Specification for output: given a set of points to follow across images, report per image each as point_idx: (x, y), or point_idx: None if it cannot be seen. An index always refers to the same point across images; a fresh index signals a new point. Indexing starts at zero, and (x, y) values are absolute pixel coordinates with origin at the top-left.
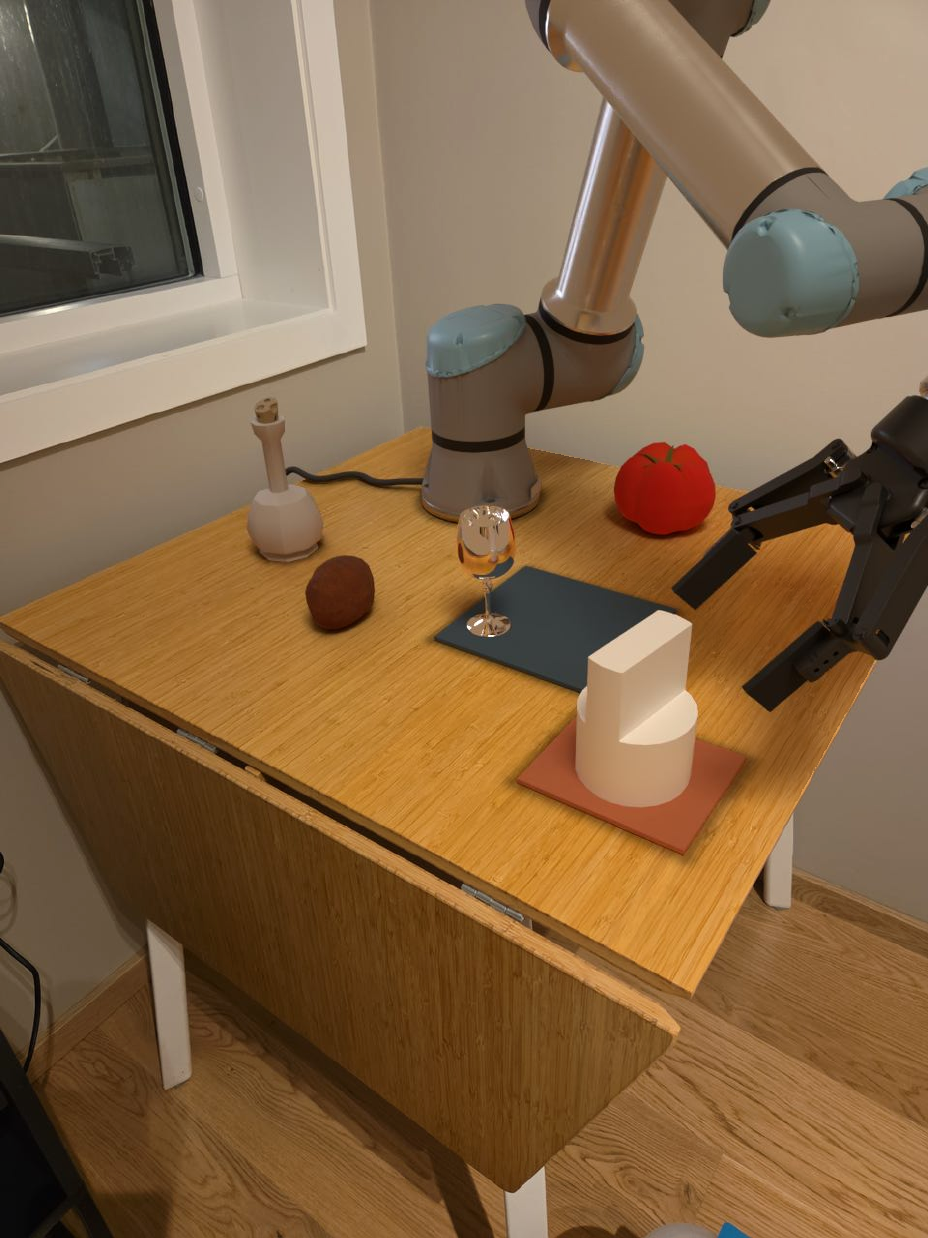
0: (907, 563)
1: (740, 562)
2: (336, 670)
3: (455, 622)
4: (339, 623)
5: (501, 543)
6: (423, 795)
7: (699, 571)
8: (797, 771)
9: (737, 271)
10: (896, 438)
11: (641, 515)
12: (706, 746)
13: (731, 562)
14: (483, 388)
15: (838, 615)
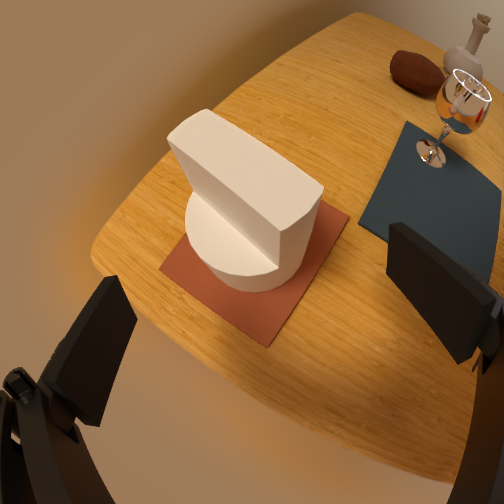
0: None
1: (443, 332)
2: (357, 79)
3: (426, 134)
4: (393, 75)
5: (457, 100)
6: (237, 117)
7: (418, 251)
8: (251, 389)
9: None
10: None
11: None
12: (282, 313)
13: (440, 313)
14: None
15: (32, 407)
